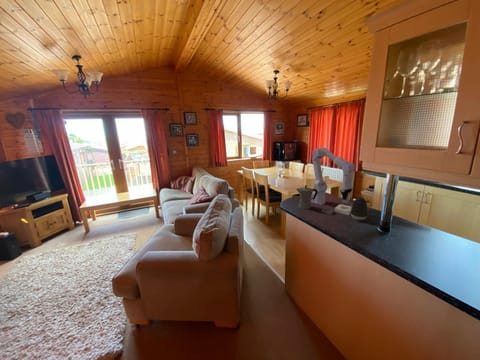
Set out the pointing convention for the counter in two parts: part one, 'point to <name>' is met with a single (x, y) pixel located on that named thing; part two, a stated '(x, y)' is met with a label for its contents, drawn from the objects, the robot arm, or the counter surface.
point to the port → (343, 209)
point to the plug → (347, 198)
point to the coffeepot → (305, 197)
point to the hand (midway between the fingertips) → (345, 198)
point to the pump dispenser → (359, 209)
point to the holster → (327, 211)
